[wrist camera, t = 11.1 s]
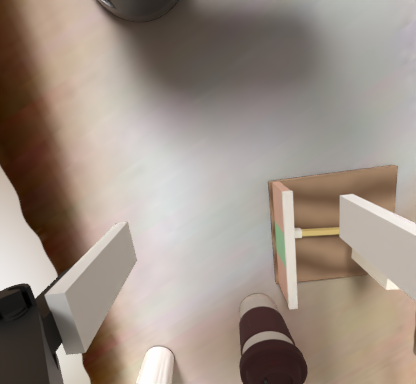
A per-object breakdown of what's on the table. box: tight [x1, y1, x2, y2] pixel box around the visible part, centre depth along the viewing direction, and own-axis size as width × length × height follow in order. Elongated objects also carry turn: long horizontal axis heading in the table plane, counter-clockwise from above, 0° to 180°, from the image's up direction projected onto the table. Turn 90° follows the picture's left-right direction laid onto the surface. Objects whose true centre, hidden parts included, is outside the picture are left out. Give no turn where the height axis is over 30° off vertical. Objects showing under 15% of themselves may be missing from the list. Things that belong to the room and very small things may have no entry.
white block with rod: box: [294, 227, 400, 290], centre depth 36 cm, size 11×7×12 cm, turn 94°
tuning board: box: [268, 165, 398, 284], centre depth 43 cm, size 20×21×1 cm
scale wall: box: [272, 181, 298, 310], centre depth 39 cm, size 20×1×7 cm, turn 8°
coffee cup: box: [239, 294, 307, 384], centre depth 41 cm, size 10×10×15 cm
